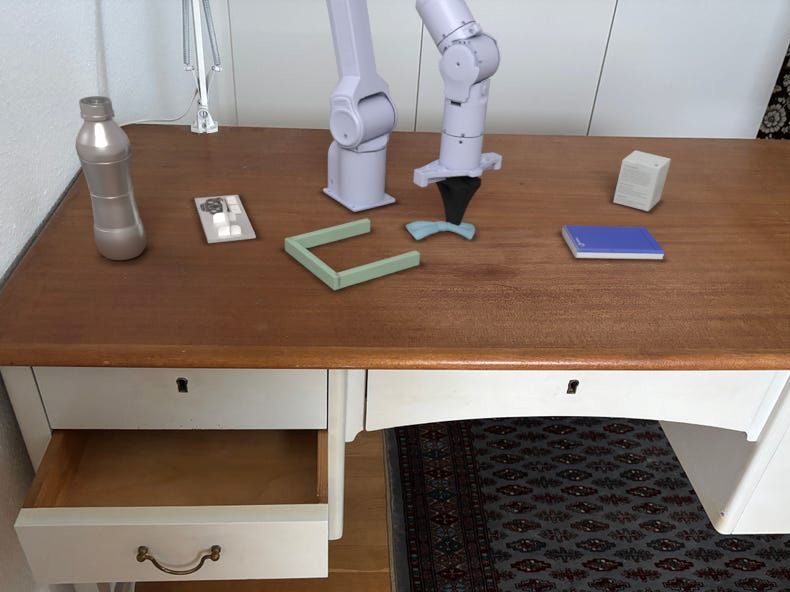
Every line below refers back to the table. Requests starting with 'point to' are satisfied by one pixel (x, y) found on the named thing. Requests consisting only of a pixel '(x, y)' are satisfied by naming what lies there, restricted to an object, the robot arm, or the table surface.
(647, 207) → the product box
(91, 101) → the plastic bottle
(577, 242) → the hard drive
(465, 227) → the bow tie
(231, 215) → the grey board with parts
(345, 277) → the bay
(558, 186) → the table surface
